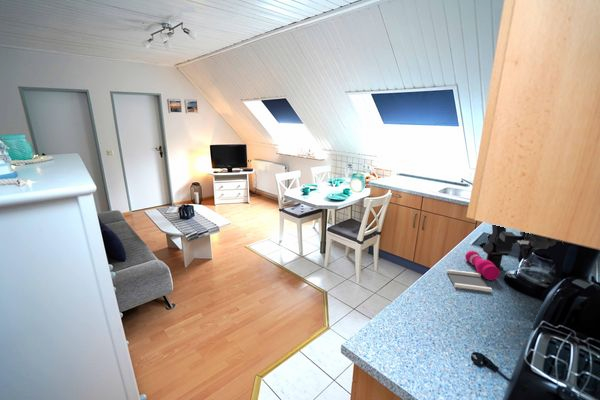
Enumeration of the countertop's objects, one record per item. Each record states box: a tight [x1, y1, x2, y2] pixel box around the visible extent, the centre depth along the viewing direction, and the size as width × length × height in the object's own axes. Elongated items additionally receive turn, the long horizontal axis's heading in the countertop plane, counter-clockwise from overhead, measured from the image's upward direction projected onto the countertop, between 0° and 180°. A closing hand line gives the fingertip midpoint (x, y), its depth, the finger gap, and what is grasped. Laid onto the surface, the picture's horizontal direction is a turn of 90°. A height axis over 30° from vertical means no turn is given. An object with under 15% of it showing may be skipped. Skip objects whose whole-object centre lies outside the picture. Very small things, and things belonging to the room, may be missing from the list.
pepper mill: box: [464, 250, 500, 281], centre depth 125 cm, size 7×7×20 cm
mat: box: [446, 269, 493, 294], centre depth 115 cm, size 12×13×2 cm
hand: (524, 259), depth 109 cm, fingers closed
